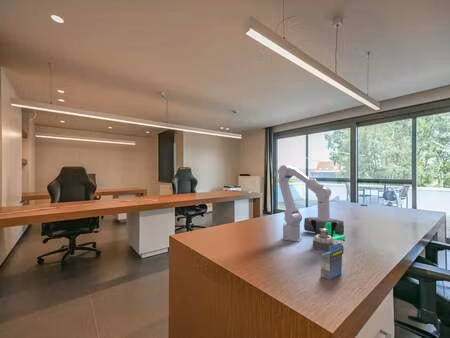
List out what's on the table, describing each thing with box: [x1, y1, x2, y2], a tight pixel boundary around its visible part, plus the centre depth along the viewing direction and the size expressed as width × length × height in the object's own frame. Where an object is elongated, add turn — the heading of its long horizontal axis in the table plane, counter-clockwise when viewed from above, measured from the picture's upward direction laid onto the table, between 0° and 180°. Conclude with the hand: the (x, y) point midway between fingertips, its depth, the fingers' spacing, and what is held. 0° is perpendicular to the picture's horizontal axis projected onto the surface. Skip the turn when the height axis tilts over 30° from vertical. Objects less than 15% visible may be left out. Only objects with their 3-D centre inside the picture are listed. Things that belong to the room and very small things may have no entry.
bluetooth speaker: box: [303, 217, 345, 236], centre depth 143 cm, size 23×9×10 cm, turn 61°
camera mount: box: [324, 222, 346, 241], centre depth 130 cm, size 12×8×10 cm, turn 122°
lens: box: [319, 228, 328, 238], centre depth 117 cm, size 4×4×6 cm
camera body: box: [312, 234, 344, 254], centre depth 117 cm, size 14×9×6 cm, turn 62°
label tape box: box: [320, 243, 343, 281], centre depth 85 cm, size 9×4×12 cm, turn 126°
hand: (323, 235), depth 118 cm, fingers open, 7 cm apart
